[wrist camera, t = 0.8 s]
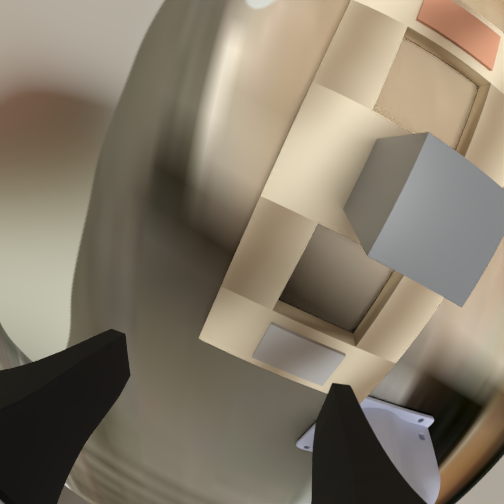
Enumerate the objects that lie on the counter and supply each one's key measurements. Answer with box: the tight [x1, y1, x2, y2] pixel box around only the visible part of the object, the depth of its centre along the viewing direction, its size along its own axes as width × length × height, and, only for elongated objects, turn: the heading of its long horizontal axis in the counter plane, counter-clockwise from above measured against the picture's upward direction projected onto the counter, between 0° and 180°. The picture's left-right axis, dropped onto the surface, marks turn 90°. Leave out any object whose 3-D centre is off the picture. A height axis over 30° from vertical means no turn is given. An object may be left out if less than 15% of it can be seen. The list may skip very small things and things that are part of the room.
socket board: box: [199, 0, 504, 404], centre depth 15 cm, size 12×26×2 cm, turn 157°
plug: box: [343, 132, 504, 307], centre depth 11 cm, size 4×4×7 cm
